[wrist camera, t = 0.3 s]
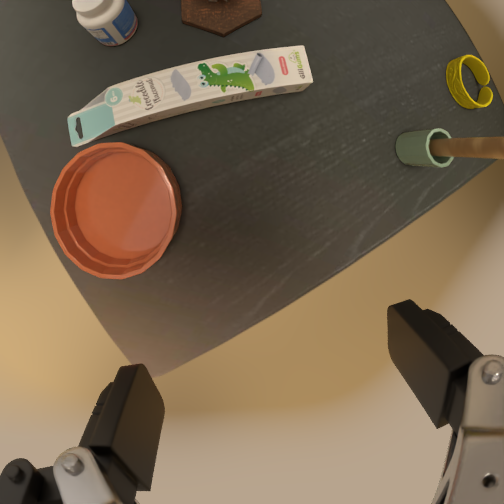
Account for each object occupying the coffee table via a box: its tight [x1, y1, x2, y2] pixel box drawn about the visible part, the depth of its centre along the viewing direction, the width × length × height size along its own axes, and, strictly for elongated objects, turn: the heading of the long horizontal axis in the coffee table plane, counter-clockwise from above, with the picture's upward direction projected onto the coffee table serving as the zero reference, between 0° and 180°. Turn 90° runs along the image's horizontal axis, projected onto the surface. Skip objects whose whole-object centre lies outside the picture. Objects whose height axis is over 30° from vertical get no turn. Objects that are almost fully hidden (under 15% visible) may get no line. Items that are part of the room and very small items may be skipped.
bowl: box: [50, 142, 182, 279], centre depth 33 cm, size 14×14×6 cm
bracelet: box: [446, 55, 493, 109], centre depth 33 cm, size 7×8×3 cm
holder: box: [395, 128, 453, 167], centre depth 33 cm, size 4×4×7 cm
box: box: [67, 46, 313, 147], centre depth 31 cm, size 4×4×28 cm
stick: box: [428, 137, 504, 159], centre depth 28 cm, size 2×2×18 cm
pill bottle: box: [72, 0, 138, 46], centre depth 25 cm, size 6×5×10 cm
